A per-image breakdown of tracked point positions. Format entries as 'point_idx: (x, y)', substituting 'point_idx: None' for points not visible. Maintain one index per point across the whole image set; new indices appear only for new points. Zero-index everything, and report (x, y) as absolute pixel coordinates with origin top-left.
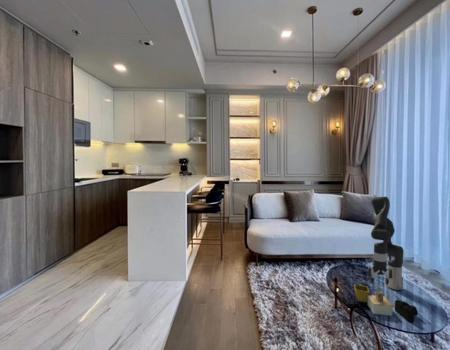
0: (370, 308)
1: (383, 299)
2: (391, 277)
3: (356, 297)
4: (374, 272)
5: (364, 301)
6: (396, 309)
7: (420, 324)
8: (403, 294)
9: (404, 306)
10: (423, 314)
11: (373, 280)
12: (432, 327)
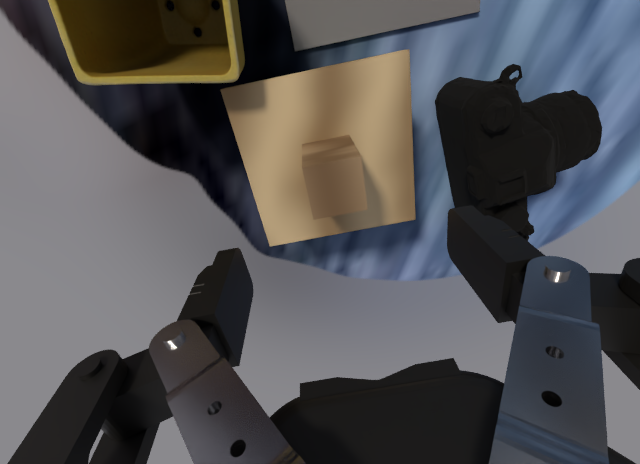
0: None
1: (367, 138)
2: (633, 355)
3: (136, 58)
4: (238, 410)
5: (217, 51)
6: (445, 123)
7: None
8: None
9: None
10: (627, 74)
11: (244, 325)
12: (563, 225)
